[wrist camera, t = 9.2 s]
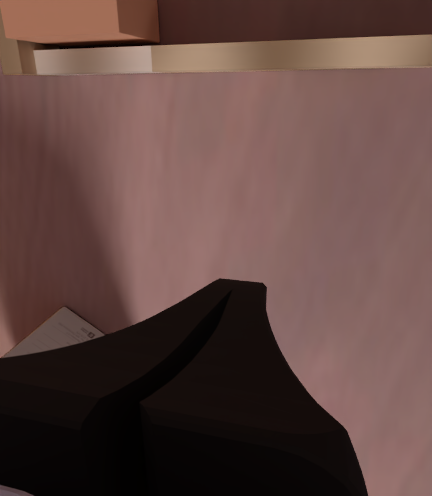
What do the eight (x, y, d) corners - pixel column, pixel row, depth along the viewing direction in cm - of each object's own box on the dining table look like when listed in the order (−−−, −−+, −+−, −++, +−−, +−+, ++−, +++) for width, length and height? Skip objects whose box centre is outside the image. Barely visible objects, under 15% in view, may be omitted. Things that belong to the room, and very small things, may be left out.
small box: (64, 302, 26) (-154, 479, 14) (145, 360, 26) (-7, 584, 14) (24, 377, 30) (-177, 568, 18) (95, 428, 30) (-59, 651, 18)
